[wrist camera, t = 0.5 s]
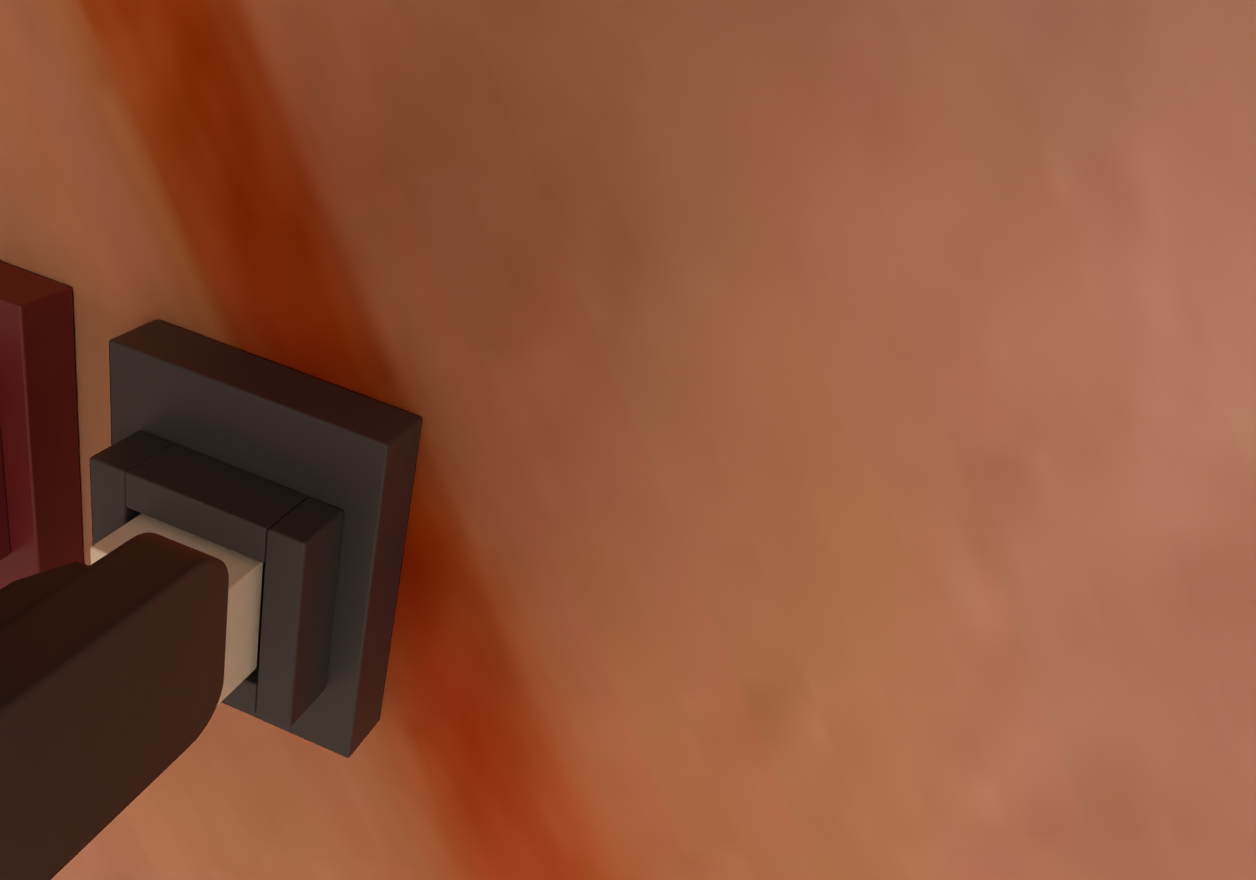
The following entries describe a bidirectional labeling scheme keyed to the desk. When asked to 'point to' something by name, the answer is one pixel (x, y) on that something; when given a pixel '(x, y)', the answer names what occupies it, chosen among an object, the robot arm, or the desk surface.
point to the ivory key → (240, 592)
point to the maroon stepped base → (37, 427)
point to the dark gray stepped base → (271, 510)
